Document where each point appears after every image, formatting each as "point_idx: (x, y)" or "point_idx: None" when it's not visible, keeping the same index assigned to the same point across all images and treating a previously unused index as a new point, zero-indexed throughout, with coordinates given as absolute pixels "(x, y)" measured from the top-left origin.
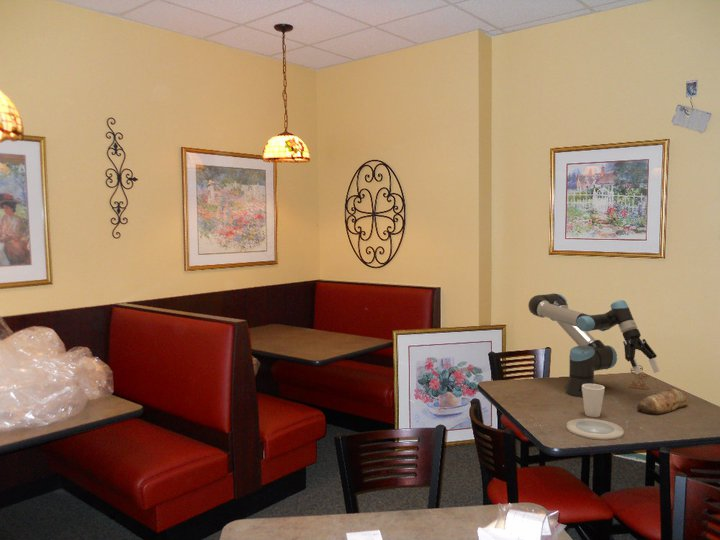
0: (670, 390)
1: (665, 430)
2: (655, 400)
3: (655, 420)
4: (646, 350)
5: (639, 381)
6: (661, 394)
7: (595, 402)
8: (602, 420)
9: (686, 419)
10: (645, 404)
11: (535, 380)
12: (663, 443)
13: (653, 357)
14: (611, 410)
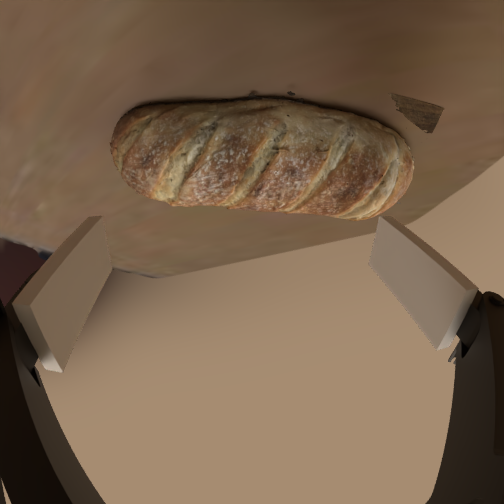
0: (342, 203)
1: None
2: (161, 199)
3: (111, 195)
4: (444, 455)
5: None
6: (243, 197)
7: None
8: None
9: (210, 227)
10: (119, 171)
11: None
12: (46, 256)
13: (458, 346)
14: (32, 72)
